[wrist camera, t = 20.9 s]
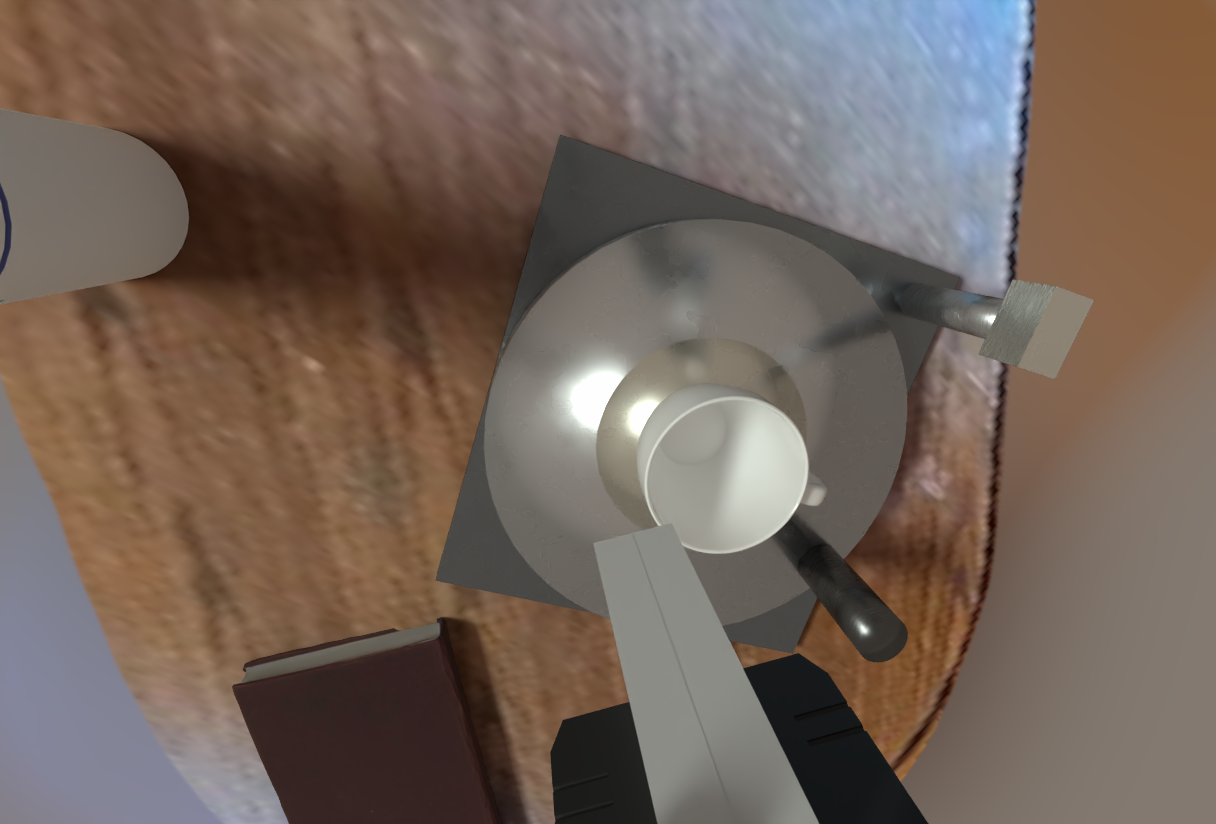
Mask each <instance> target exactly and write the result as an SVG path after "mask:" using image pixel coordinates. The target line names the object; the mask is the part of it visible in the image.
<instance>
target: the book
mask: <svg viewBox="0 0 1216 824" xmlns="http://www.w3.org/2000/svg"><path fill="white" fill-rule="evenodd" d="M437 622H438V623H435V624H430V625H426V626H421V627H417V628H412V629H408V630H403V631H399V630H396V629H394V628H393V629H389V630H385V631H380V632H376V633H371V634H367V635H363V636H355V637H350V638H347V639H343V640H338V641H333V642H327V643H324V644H320V645H316V646H313V647H308V648H302V649H296V650H293V651H289V652H285V653H280V654H276V655H272V656H268V657H264V658H260V659H256V660H253V661H250V662H248V663H245V665H244V668H243V671H245V672H246V675H245V677H244V679H243V681H242V682H241V683H240V684H235V685H233V686H232V688H233V692H234V695H235V697H236V700H237V702H238V704H239V706H240V709H241V712H242V714H243V717H244V720H245V722H246V725H247V727H248V730H249V732H250V734H251V737H252V739H253V741H254V744H255V746H256V748H257V751H258V753H259V756H260V758H261V760H262V763H263V765H264V767H265V769H266V771H267V774H268V776H269V778H270V780H271V782H272V785H273V787H274V789H275V791H276V793H277V795H278V797H279V800H280V803H281V806H282V808H283V811H284V813H285V815H286V817H287V820H288V822H289V824H502V823H501V820H500V816H499V813H498V810H497V806H496V803H495V799H494V795H493V792H492V789H491V786H490V783H489V780H488V777H487V773H486V770H485V766H484V763H483V760H482V756H481V752H480V748H479V745H478V741H477V738H476V734H475V731H474V727H473V724H472V720H471V716H470V713H469V709H468V706H467V703H466V699H465V695H464V692H463V688H462V685H461V682H460V678H459V673H458V669H457V666H456V662H455V659H454V655H453V651H452V646H451V642H450V638H449V634H448V630H447V626H446V622H445V621H444V620H443V619H442V618H439V619H437Z"/></svg>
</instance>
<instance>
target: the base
mask: <svg viewBox="0 0 1216 824" xmlns="http://www.w3.org/2000/svg"><path fill="white" fill-rule="evenodd" d="M685 219H723V220H732V221H742V222H751V223H755V224H759V225H763V226H767V227H771V228H775V229H779V230H781V231H784V232H786V233H789V234H791V235H793V236H796V237H798V238H801V239H803V240H805V241H807V242H809V243H811V244H812V245H814V246H816V247H817V248H819V249H821V250H822V251H824V252H826V253H827V254H829V255H830V256H832V257H833V258H834V259H835V260H836V261H838V262H839V263H840V264H841V265H842V266H844V267H845V268H846V269H847V270H848V271H850V272H851V273H852V274H853V275H854V276H855V278H856V279H857V280H858V281H859V282H860V283H861V284H862V285H863V286H864V288H865V289H866V290H867V291H868V292H869V293H870V295H871V296H872V298H873V299H874V301H875V302H876V304H877V305H878V307H879V308H880V310H881V311H882V313H883V314H884V316H885V318H886V321H887V323H888V325H889V327H890V329H891V331H892V333H893V336H894V338H895V340H896V344H897V347H898V350H899V353H900V357H901V360H902V363H903V369H904V375H905V381H906V388H907V395H908V393H909V390H910V388H911V386H912V384H913V381H914V379H915V377H916V375H917V372H918V370H919V368H920V366H921V363H922V361H923V359H924V357H925V354H926V352H927V350H928V348H929V345H930V343H931V341H932V339H933V336H934V334H935V332H936V330H937V327H938V326H942V327H945V328H949V329H952V330H956V331H959V332H963V333H966V334H970V335H973V336H977V337H980V338H984V339H985V341H984V343H983V345H982V347H981V350H980V352H979V355H982V356H985V357H988V358H991V359H994V360H997V361H1000V362H1003V363H1006V364H1009V365H1012V366H1015V367H1018V368H1022V369H1025V370H1028V371H1031V372H1034V373H1037V374H1040V375H1043V376H1046V377H1049V378H1053V379H1055V378H1056V376H1057V374H1058V372H1059V370H1060V368H1061V366H1062V364H1063V362H1064V360H1065V358H1066V356H1067V354H1068V352H1069V350H1070V348H1071V346H1072V344H1073V342H1074V340H1075V338H1076V335H1077V334H1078V332H1079V330H1080V328H1081V326H1082V324H1083V322H1084V320H1085V318H1086V315H1087V314H1088V312H1089V310H1090V307H1091V306H1092V304H1093V302H1094V300H1092V299H1090V298H1087V297H1084V296H1082V295H1079V294H1076V293H1073V292H1071V291H1068V290H1065V289H1062V288H1060V287H1057V286H1051V285H1044V284H1038V283H1031V282H1024V281H1018V280H1012V283H1011V285H1010V287H1009V289H1008V291H1007V293H1006V296H1005V298H1004V299H1000V298H995V297H990V296H985V295H979V294H974V293H969V292H964V291H959V290H954V289H955V287H956V284H957V282H958V280H959V278H960V277H957V276H955V275H952V274H949V273H946V272H943V271H941V270H938V269H935V268H932V267H929V266H927V265H924V264H921V263H918V262H915V261H913V260H910V259H907V258H904V257H901V256H899V255H896V254H893V253H890V252H887V251H885V250H882V249H879V248H876V247H873V246H871V245H868V244H865V243H862V242H859V241H857V240H854V239H851V238H848V237H845V236H843V235H840V234H837V233H834V232H831V231H829V230H826V229H823V228H820V227H817V226H815V225H812V224H809V223H806V222H803V221H801V220H798V219H795V218H792V217H789V216H787V215H784V214H781V213H778V212H775V211H773V210H770V209H767V208H764V207H761V206H759V205H756V204H753V203H750V202H747V201H745V200H742V199H739V198H736V197H733V196H731V195H728V194H725V193H722V192H719V191H717V190H714V189H711V188H708V187H705V186H703V185H700V184H697V183H694V182H691V181H689V180H686V179H683V178H680V177H677V176H675V175H672V174H669V173H666V172H663V171H661V170H658V169H655V168H652V167H649V166H647V165H644V164H641V163H638V162H635V161H633V160H630V159H627V158H624V157H621V156H619V155H616V154H613V153H610V152H607V151H605V150H602V149H599V148H596V147H593V146H591V145H588V144H585V143H582V142H579V141H577V140H574V139H571V138H568V137H565V136H563V135H560V137H559V141H558V144H557V148H556V151H555V155H554V158H553V162H552V166H551V169H550V173H549V176H548V180H547V183H546V187H545V191H544V194H543V198H542V201H541V205H540V208H539V212H538V215H537V219H536V223H535V226H534V230H533V233H532V237H531V240H530V244H529V248H528V251H527V255H526V258H525V262H524V265H523V269H522V273H521V276H520V280H519V283H518V287H517V290H516V294H515V297H514V301H513V305H512V308H511V312H510V315H509V319H508V322H507V326H506V330H505V333H504V337H503V340H502V344H501V347H500V351H499V355H498V358H497V362H496V365H495V369H494V372H493V376H494V373H495V370H496V367H497V364H498V361H499V358H500V355H501V353H502V351H503V349H504V347H505V345H506V343H507V341H508V339H509V337H510V335H511V333H512V331H513V329H514V327H515V326H516V324H517V323H518V321H519V320H520V318H521V317H522V315H523V314H524V313H525V311H526V310H527V308H528V307H529V305H530V304H531V303H532V302H533V300H534V299H535V298H536V297H537V296H538V295H539V294H540V293H541V292H542V290H543V289H544V288H545V287H546V286H547V285H548V284H549V283H550V282H551V281H552V280H553V279H554V278H555V277H556V276H558V275H559V274H560V273H561V272H562V271H563V270H565V269H566V268H567V267H568V266H569V265H570V264H572V263H573V262H574V261H576V260H578V259H579V258H581V257H582V256H584V255H585V254H587V253H588V252H590V251H591V250H593V249H594V248H596V247H598V246H600V245H602V244H604V243H606V242H608V241H610V240H612V239H614V238H616V237H619V236H621V235H623V234H625V233H628V232H631V231H634V230H638V229H641V228H644V227H647V226H650V225H654V224H659V223H665V222H671V221H677V220H685ZM493 376H492V379H493ZM492 379H491V383H492ZM491 383H490V387H489V390H488V394H487V397H486V401H485V404H484V408H483V412H482V415H481V419H480V422H479V426H478V429H477V433H476V437H475V440H474V444H473V447H472V451H471V454H470V458H469V461H468V465H467V469H466V472H465V476H464V479H463V483H462V486H461V490H460V494H459V497H458V501H457V504H456V508H455V511H454V515H453V519H452V522H451V526H450V529H449V533H448V536H447V540H446V543H445V547H444V551H443V554H442V558H441V561H440V565H439V568H438V572H437V577H436V581H440V582H445V583H450V584H455V585H460V586H465V587H470V588H475V589H479V590H484V591H489V592H494V593H499V594H504V595H509V596H514V597H519V598H523V599H528V600H533V601H538V602H543V603H548V604H553V605H558V606H563V607H567V608H572V609H577V610H582V611H587V612H590V611H588V610H587V609H585V608H583V607H581V606H579V605H578V604H576V603H574V602H572V601H570V600H569V599H567V598H566V597H564V596H563V595H562V594H560V593H559V592H558V591H556V590H555V589H554V588H552V587H551V586H550V585H548V584H547V583H546V582H545V581H544V580H543V579H542V578H541V577H540V576H539V575H538V574H537V573H536V572H535V571H534V570H533V569H532V568H531V567H530V566H529V565H528V563H527V562H526V561H525V559H524V558H523V557H522V555H521V554H520V553H519V552H518V550H517V549H516V548H515V546H514V544H513V543H512V541H511V539H510V537H509V536H508V534H507V532H506V530H505V529H504V527H503V525H502V523H501V520H500V518H499V515H498V513H497V510H496V508H495V505H494V503H493V500H492V496H491V492H490V487H489V483H488V479H487V475H486V465H485V454H484V433H485V417H486V410H487V404H488V399H489V393H490V388H491ZM816 600H817V597H816V595H815V594H814V593H813V591H812V590H811V589H810V588H809V589H808V590H806V591H805V592H803V593H801V594H800V595H798V596H796V597H795V598H793V599H791V600H790V601H788V602H787V603H785V604H783V605H780V606H778V607H776V608H774V609H772V610H770V611H768V612H766V613H763V614H761V615H758V616H755V617H752V618H749V619H746V620H743V621H740V622H737V623H732V624H728V625H723V626H722V627H723V629H724V631H725V633H726V635H727V637H728V639H729V641H734V642H739V643H744V644H748V645H753V646H758V647H763V648H768V649H773V650H778V651H783V652H788V653H792V654H793V652H794V650H795V647H796V645H797V643H798V641H799V638H800V636H801V634H802V632H803V629H804V627H805V625H806V623H807V620H808V618H809V616H810V614H811V611H812V609H813V607H814V605H815V602H816ZM592 613H593V612H592Z"/></svg>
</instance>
